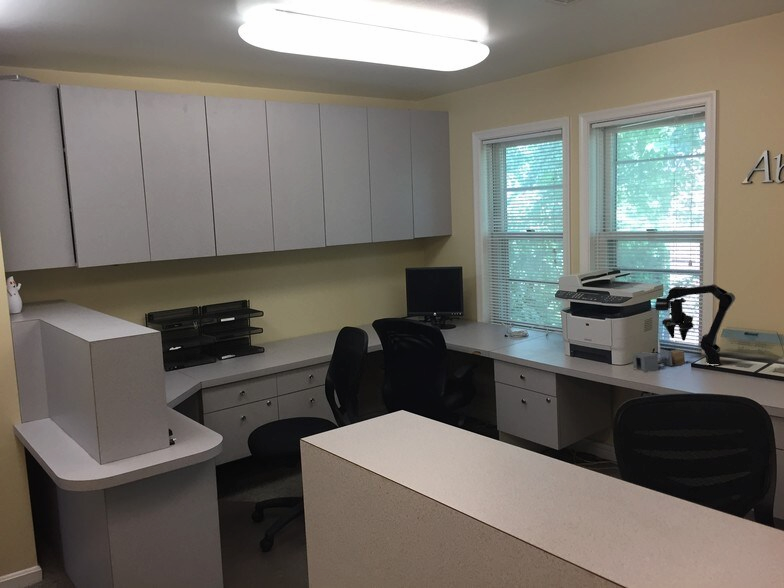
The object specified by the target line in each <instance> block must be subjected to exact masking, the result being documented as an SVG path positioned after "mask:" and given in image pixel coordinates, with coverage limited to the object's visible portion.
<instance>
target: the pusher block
mask: <svg viewBox="0 0 784 588" xmlns="http://www.w3.org/2000/svg"><path fill="white" fill-rule="evenodd" d="M670 351H671V358H672V365H671V366H675V367H676V366H683V365H686V361H685V351H683V350H680V349H677V350H670Z"/></svg>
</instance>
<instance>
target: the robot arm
mask: <svg viewBox="0 0 784 588" xmlns="http://www.w3.org/2000/svg"><path fill="white" fill-rule="evenodd" d="M710 293H711V294H712V295H713V296H714V297H715V298H716V299H717V300H718V301H719V302H718V309H717V312H716V315H715V317H714V319H713V322H712V324H711V326H710V328H709V331H708V333H705V334H704V335H703V336H702V337H701V340H700V342H699V344H700V348H701V350H702V351H703V352H704V353H705V363H706V362H707V363H709V364H719V363H721V355H720V353H719V352H720V351H721V347H720V346H719V345H718V344H717V337H718V333H719V331H720V329H721V327H722V324H723V321H724V319H725V318H726V315H727V312H728V310H729V309H730V308H731V307H732V305H733V304H734V302H735V301H736V296H735V294H734V293H732V292H728V291H727V290H725V289H723V288H721V287H719V286H718V285H716V284H715V283H713V284H709V285H699V286H693V287H692V286H691V287H690V286H689V287H688V286H687V287H686V286H673V287H672V288H670V289H669V290H668V295H667V296H666V298H665V297H663V298H662V297H657V298H656V299H655V300H656V301H655V304H654V308H655V310H656V311H660V312H661V311H662V312H663V311H665V312H666V311H669V309H670V312H669V313H668V314H669V315H670V318H664V319H662V321H661V323H662V325H663V327H664V328H665V329H666V330H667V332H668V334H669V335H670V337H671V339H674V338H675V327H677V326H678V330H679V334H680V338H681V340H682V341H686V338H687V334H688V332H689V330H691V329H693V328H694V323H693V320H694V316H690V315H687V314H686V313H685V312H684V311H683V303H686V302H687V300H686V299H685V298H684V297H686V296H691V295H701V294H710Z"/></svg>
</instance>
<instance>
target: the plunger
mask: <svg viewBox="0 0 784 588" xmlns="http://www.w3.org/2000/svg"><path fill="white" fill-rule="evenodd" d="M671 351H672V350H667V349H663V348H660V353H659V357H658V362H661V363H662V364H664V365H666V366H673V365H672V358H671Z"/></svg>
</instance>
